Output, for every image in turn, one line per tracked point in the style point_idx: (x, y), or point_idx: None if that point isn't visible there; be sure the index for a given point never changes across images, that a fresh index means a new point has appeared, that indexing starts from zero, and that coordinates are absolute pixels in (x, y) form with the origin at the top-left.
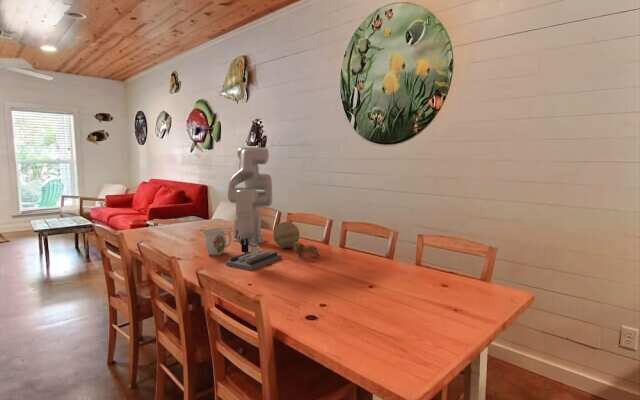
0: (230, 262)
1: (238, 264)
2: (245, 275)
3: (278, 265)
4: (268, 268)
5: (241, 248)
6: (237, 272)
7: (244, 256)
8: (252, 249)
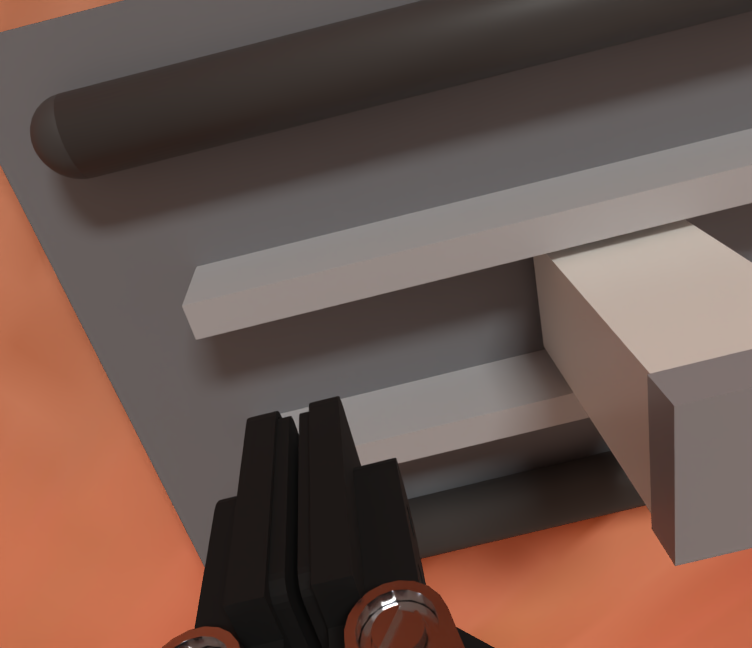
0: (20, 197)
1: (121, 390)
2: (67, 644)
3: (628, 582)
4: (455, 600)
5: (239, 484)
6: (23, 510)
7: (363, 295)
8: (614, 401)
